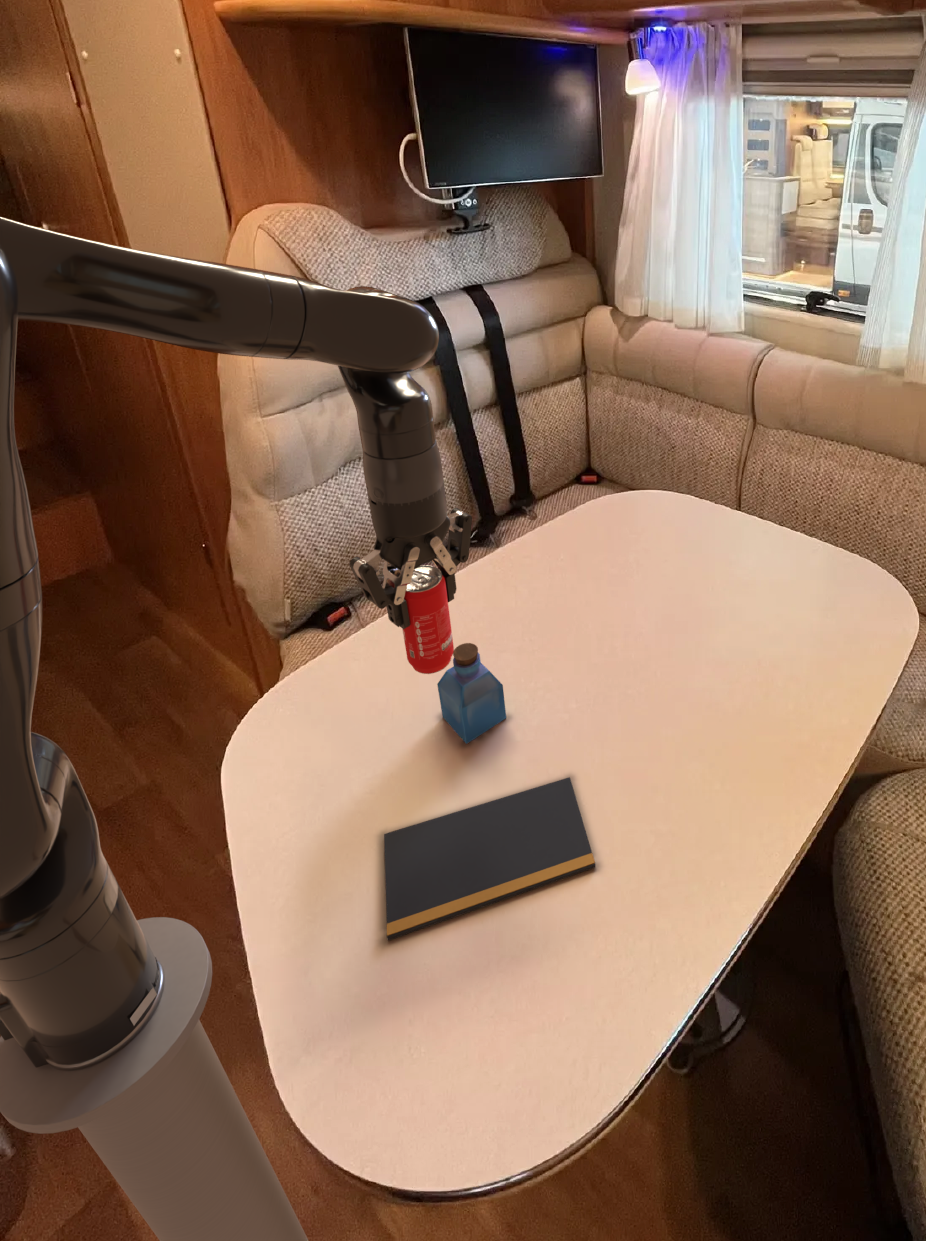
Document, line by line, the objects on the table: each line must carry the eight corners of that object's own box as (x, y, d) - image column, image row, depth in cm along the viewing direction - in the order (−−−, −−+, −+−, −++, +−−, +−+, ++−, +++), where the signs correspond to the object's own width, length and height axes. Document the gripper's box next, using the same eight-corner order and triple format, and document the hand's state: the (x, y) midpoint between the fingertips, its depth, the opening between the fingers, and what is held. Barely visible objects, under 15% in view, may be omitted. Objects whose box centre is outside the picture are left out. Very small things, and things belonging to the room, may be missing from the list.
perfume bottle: (442, 717, 100) (431, 651, 94) (481, 693, 104) (473, 628, 98) (466, 744, 96) (456, 676, 91) (506, 718, 100) (499, 652, 95)
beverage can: (430, 683, 82) (418, 598, 77) (399, 665, 85) (384, 582, 79) (464, 655, 86) (454, 573, 81) (433, 639, 89) (421, 558, 83)
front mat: (387, 940, 74) (386, 937, 74) (384, 836, 84) (383, 833, 84) (595, 867, 82) (595, 863, 81) (570, 779, 92) (569, 776, 91)
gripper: (441, 446, 82) (456, 568, 89) (319, 497, 72) (347, 630, 79) (484, 468, 78) (496, 593, 85) (361, 524, 68) (386, 662, 75)
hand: (424, 610), depth 82 cm, fingers closed on beverage can, 5 cm apart
